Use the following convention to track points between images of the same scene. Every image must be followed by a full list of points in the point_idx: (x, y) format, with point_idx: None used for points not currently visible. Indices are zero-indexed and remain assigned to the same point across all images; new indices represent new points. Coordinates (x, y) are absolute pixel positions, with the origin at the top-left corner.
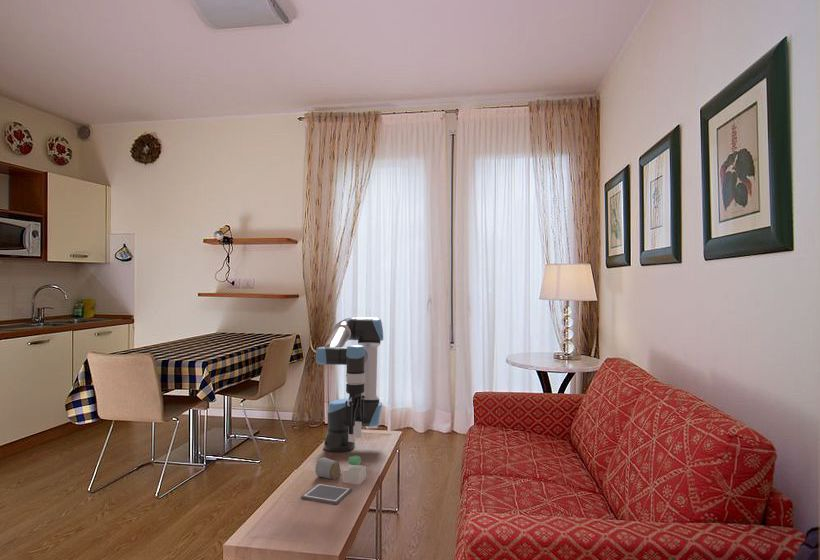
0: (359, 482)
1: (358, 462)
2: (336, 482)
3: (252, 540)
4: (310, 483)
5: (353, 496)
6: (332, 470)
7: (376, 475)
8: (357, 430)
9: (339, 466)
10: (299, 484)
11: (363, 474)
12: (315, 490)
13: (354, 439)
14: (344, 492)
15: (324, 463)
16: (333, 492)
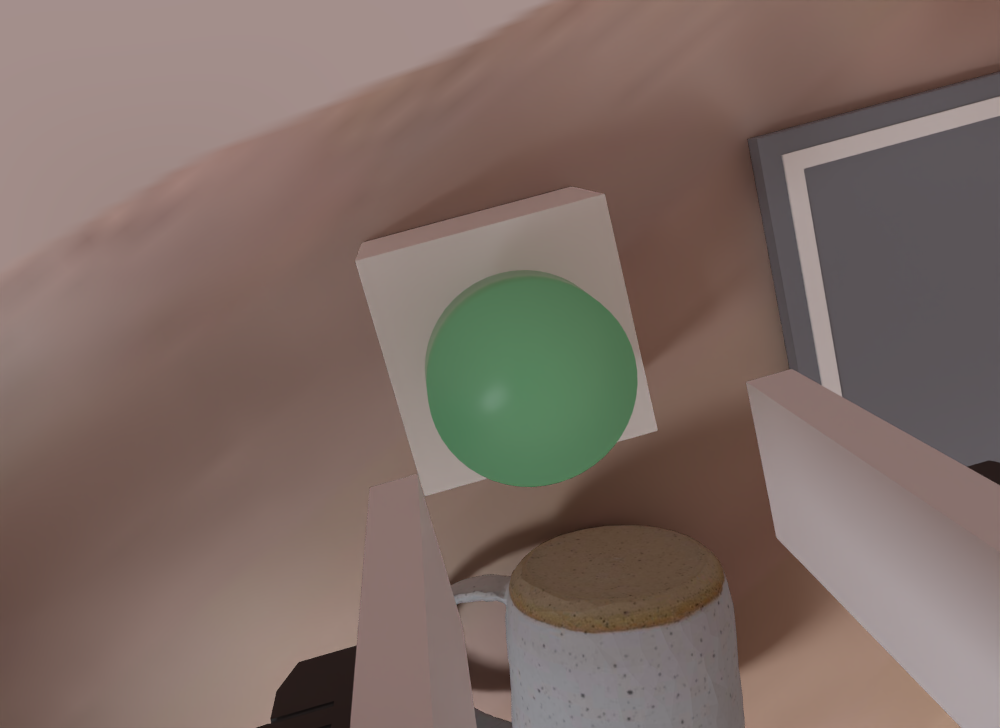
0: (555, 192)
1: (551, 275)
2: (658, 448)
3: None
4: (822, 644)
5: (867, 18)
6: (697, 559)
7: (198, 188)
8: (456, 658)
9: (542, 582)
10: (895, 708)
11: (439, 229)
12: (993, 446)
13: (814, 389)
14: (897, 137)
15: (724, 718)
16: (946, 250)
